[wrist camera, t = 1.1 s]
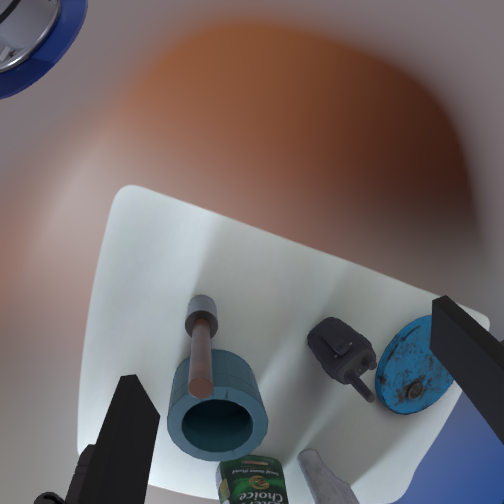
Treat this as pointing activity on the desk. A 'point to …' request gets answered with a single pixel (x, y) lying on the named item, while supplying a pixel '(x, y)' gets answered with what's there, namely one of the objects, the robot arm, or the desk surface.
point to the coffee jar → (251, 481)
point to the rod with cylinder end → (201, 344)
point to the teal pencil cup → (218, 411)
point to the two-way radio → (343, 353)
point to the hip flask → (324, 481)
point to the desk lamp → (411, 371)
